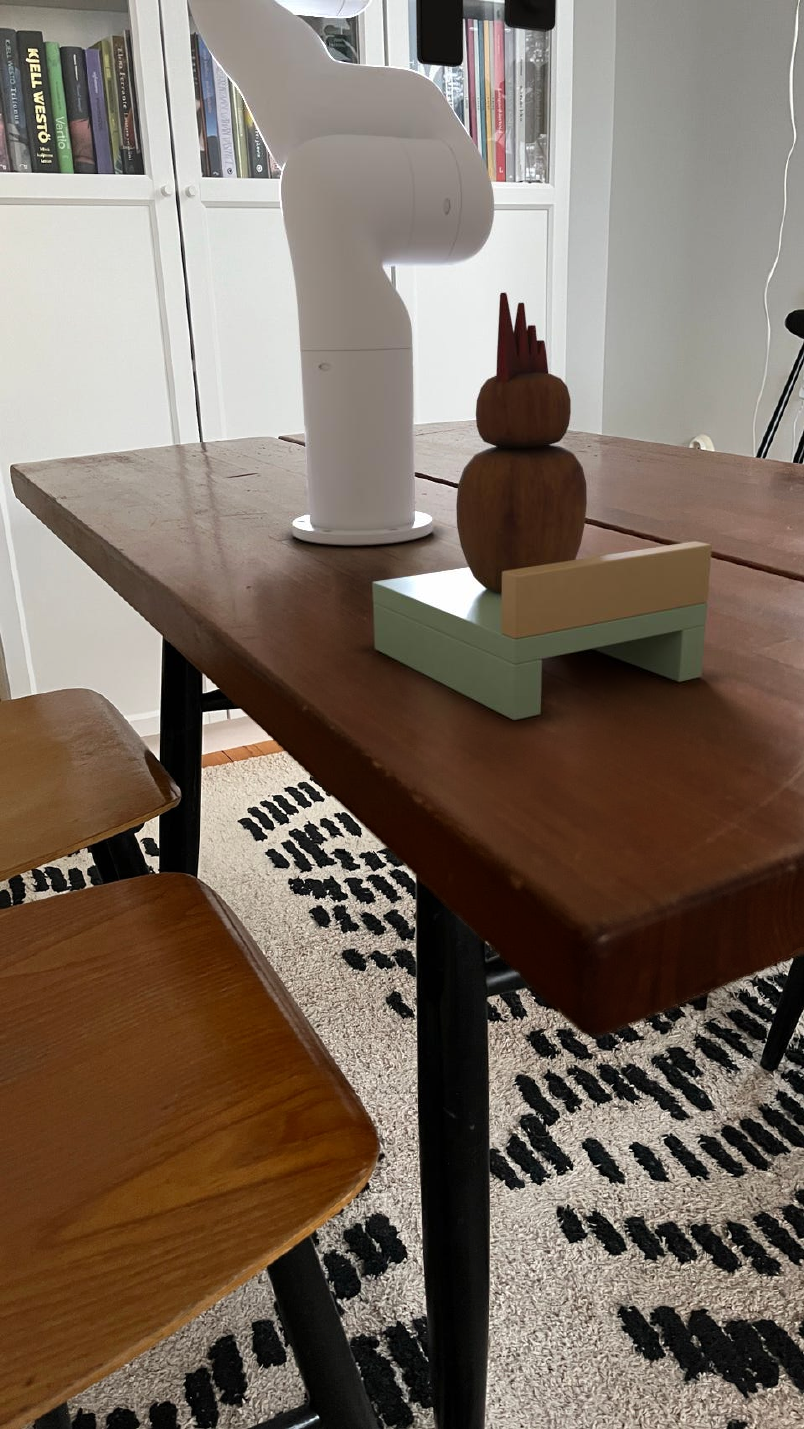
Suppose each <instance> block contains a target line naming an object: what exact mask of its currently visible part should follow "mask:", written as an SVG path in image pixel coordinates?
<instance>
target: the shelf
mask: <svg viewBox="0 0 804 1429" xmlns="http://www.w3.org/2000/svg"><path fill="white" fill-rule="evenodd" d="M712 548H713V546H712V544H709V543H707V542H700V541H697V540H695V541H688V542H682V543H675V544H669V545H663V546H656V547H649V548H643V549H635V550H631V551H630V550H629V551H624V552H617V553H612V554H605V555H599V556H591V557H585V558H578V559H576V560H572V561H565V562H559V563H552V564H546V565H540V566H533V567H527V568H520V569H514V570H507V571H503V572H502V593H501V592H496V591H492V590H489V589H487V588H485V587H483V586H482V585H481V584H480V583H479V582H478V581H477V580H476V579H475V578H474V577H473V575H472V572H471V570H470V568H469V566H468V567H463V568H456V569H449V570H442V571H436V572H429V573H422V574H417V575H410V576H403V577H396V578H389V579H383V580H377V581H372V583H371V584H372V602H373V604H372V605H373V606H372V607H373V634H374V635H373V636H374V638H373V639H374V649H375V650H376V651H379V652H380V653H382V654H384V655H385V656H388V657H390V658H392V659H393V660H396V661H397V662H399V663H401V664H403V665H406V666H408V667H409V668H411V669H413V670H415V671H417V672H419V673H421V674H423V675H425V676H427V677H429V678H430V679H433V680H434V681H437V682H438V683H440V684H442V685H444V686H446V687H448V688H450V689H452V690H453V691H456V692H458V693H459V694H461V695H463V696H465V697H468V698H469V699H471V700H473V701H475V702H477V703H479V704H481V705H483V706H485V707H487V708H489V709H491V710H493V711H495V712H497V713H498V714H500V715H503V716H504V717H507V718H509V719H510V720H511V721H519V720H522V719H526V718H530V717H534V716H535V717H536V716H540V715H541V712H542V710H541V709H542V674H543V660H544V659H548V658H553V657H557V656H562V655H569V654H572V653H577V652H583V651H587V650H594V651H596V652H599V653H602V654H604V655H607V656H610V657H612V658H615V659H616V660H620V661H622V662H625V663H628V664H631V665H633V666H636V667H638V668H641V669H643V670H647V671H648V672H651V673H655V674H657V675H660V676H662V677H665V678H668V679H670V680H673V681H675V682H678V683H681V682H685V681H689V680H694V679H697V678H701V677H702V676H703V664H704V663H703V662H704V651H705V638H706V624H707V613H708V597H709V588H710V587H709V585H710V574H711V563H712V562H711V561H712V551H713V550H712ZM542 659H543V660H542Z"/></svg>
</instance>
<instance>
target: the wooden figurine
mask: <svg viewBox="0 0 804 1429" xmlns="http://www.w3.org/2000/svg"><path fill="white" fill-rule="evenodd" d="M537 336H538V335H537V326H536V325H535V324H528V325H527V317H526V307H525V303H524V302H518V303H517V308H516V315H515V320H514V327H513V321H512V316H511V310H510V304H509V298H508V293H507V292H500V294H499V308H498V328H497V346H496V348H497V349H496V374H495V375H494V376H491V377H490V378H488V379H486V380H485V382H484V383H483V384H482V386H481V387H480V390H479V393H478V395H477V397H476V398H477V399H476V404H475V405H476V406H475V424H476V428H477V429H476V430H477V432H478V434H479V437H480V438H481V439H482V441H483V442H484V443H486V444H488V445H491V446H492V447H488V448H485V449H484V450H482V451H480V452H478V453H476V454H475V453H474V455H473V456H472V458H471V459H470V460H469V461H468V463H467V464H466V465H465V466H464V468H463V470H462V473H461V476H460V477H459V481H458V484H457V492H456V493H457V494H456V505H455V507H456V508H455V509H456V527H457V528H456V529H457V533H458V538H459V543H460V544H459V545H460V547H461V550H462V553H463V557H464V558H465V562H466V564H467V566H468V567H469V568H470V570H471V572H472V575H473V577H474V578H475V579H476V580H477V581H478V582H479V583H480V584H481V585H482V586H483V587H485V588H487V589H489V590H492V591H496V592H501V593H502V572H503V571H507V570H514V569H520V568H527V567H533V566H540V565H546V564H552V563H559V562H565V561H572V560H577V557H578V553H579V551H580V547H581V546H582V545H581V544H582V540H583V534H584V530H585V525H586V516H587V505H588V504H587V503H588V502H587V501H588V499H587V498H588V497H587V496H588V495H587V494H588V492H587V490H588V489H587V481H586V480H587V479H586V475H585V471H584V468H583V466H582V464H581V463H580V461H579V460H578V457H576V455H575V453H573V452H572V451H571V450H569V449H566V448H564V447H563V446H561V445H555V444H556V443H559V442H561V440H562V439H563V438H564V437H565V435H566V434H567V432H568V429H569V427H570V426H569V425H570V421H571V415H572V414H571V413H572V410H571V409H572V408H571V407H572V406H571V404H572V402H571V401H572V400H571V395H570V391H569V388H568V386H567V384H566V383H565V382H564V380H563V379H562V378H561V377H558V376H556V375H553V374H552V373H549V364H548V357H547V356H548V355H547V349H546V342H545V340H544V339H543V340H542V339H541V340H540V339H538V338H537Z"/></svg>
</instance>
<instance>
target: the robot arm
mask: <svg viewBox="0 0 804 1429" xmlns="http://www.w3.org/2000/svg"><path fill="white" fill-rule="evenodd" d="M371 2H372V0H187V3H188V7H189V10H190V13H191V16H192V19H193V22H194V24H195V26H196V30H197V31H198V34H199V35H200V38H201V40H202V41H203V43H204V45H205V47H206V49H207V50H208V52H209V53H210V55H211V56H212V59H214V61H215V62H216V64H217V65H218V66H219V68H221V70H222V71H223V73H224V74H225V75H226V76H227V77H228V79H229V80H230V81H231V82H232V83H233V85H234V87H236V89H237V90H238V92H239V93H240V94H241V96H242V98H243V100H244V103H245V105H246V108H247V109H248V112H249V114H250V116H251V118H252V120H253V122H254V124H255V126H256V128H257V130H258V133H259V135H260V137H261V138H262V141H263V143H264V145H265V147H266V150H267V151H268V153H269V155H270V156H271V158H272V160H273V162H274V163H275V164H276V165H277V168H279V170H280V171H281V174H280V180H279V200H280V202H279V203H280V208H281V214H282V215H281V216H282V221H283V226H284V231H285V236H286V239H287V244H288V249H289V255H290V259H291V260H290V261H291V265H292V272H293V277H294V285H295V294H296V296H295V297H296V305H297V319H298V338H299V349H300V350H299V351H300V370H301V372H300V373H301V388H302V390H301V391H302V406H303V407H302V409H303V427H304V445H305V447H304V448H305V463H306V464H305V465H306V466H305V467H306V482H307V485H306V486H305V487H304V491H303V492H304V496H305V497H306V498H307V502H308V504H307V505H308V514H306V515H303V516H301V517H297V518H296V519H295V520H293V521H292V524H291V530H292V536H294V537H295V538H297V539H299V540H300V541H303V542H309V543H314V544H320V545H331V546H373V545H374V546H375V545H387V544H388V545H389V544H395V543H396V544H397V543H403V542H409V541H413V540H417V539H421V538H423V537H426V536H428V535H430V534H432V532H433V531H434V519H433V518H432V516H430V515H429V514H427V513H423V512H420V511H416V467H415V466H416V464H415V463H416V462H415V460H416V458H415V457H416V455H415V454H416V453H415V408H414V407H415V404H414V403H415V402H414V401H415V400H414V398H415V397H414V394H415V393H414V349H413V348H414V346H413V328H412V326H413V325H412V320H411V317H410V314H409V310H408V309H407V306H406V304H405V302H404V300H403V298H402V296H401V295H400V293H399V292H398V290H397V289H396V286H394V284H393V283H392V281H391V279H390V278H389V275H388V274H387V273H386V271H385V268H391V267H425V266H426V267H432V266H433V267H441V266H443V267H444V266H452V265H453V266H454V265H458V264H461V263H464V262H467V261H469V260H470V259H472V258H474V257H475V256H476V255H477V254H479V252H480V251H481V250H482V249H483V247H484V246H485V245H486V244H487V241H488V240H489V238H490V234H491V232H492V228H493V224H494V219H495V218H494V216H495V197H494V196H495V195H494V189H493V183H492V179H491V177H490V172H489V170H488V167H487V165H486V162H485V160H484V159H483V158H484V157H483V156H482V154H481V152H480V150H479V149H478V147H477V145H476V143H475V142H474V140H473V138H472V137H471V135H470V134H469V132H468V130H467V129H466V127H465V126H464V124H463V123H462V121H461V120H460V118H459V116H458V114H457V113H456V112H455V110H454V109H453V107H452V106H451V103H450V101H448V99H447V97H446V96H445V94H444V92H442V90H441V89H440V87H439V86H438V85H437V84H436V83H435V82H434V81H433V80H432V79H431V78H430V77H428V76H426V75H424V74H422V73H420V72H418V71H415V70H413V69H409V68H404V67H396V66H387V65H375V64H374V65H373V64H361V63H360V64H359V63H353V62H344V61H340V60H336V59H334V58H333V56H331V54H330V53H329V51H328V49H327V46H326V45H325V43H324V41H323V40H322V38H321V36H319V34H318V33H317V31H315V29H313V27H312V26H311V25H310V24H308V22H307V21H305V20H304V19H303V18H301V17H299V16H298V15H301V16H310V17H311V16H313V17H324V18H335V19H337V18H338V19H344V18H345V19H347V18H352V17H355V16H358V15H360V14H361V13H362V12H364V11H365V10H366V8H367V7H368V6H369V5H370V3H371ZM503 2H504V4H503V6H504V7H503V20H504V24H505V25H506V27H508V28H511V29H517V30H524V31H525V30H526V31H533V32H539V33H547V32H550V31H551V30H553V29H554V28H555V27H556V16H557V15H556V12H557V0H504V1H503ZM415 25H416V26H415V27H416V28H415V30H416V59H417V61H418V63H419V64H421V65H428V66H439V67H447V68H457V67H460V66H462V65H463V63H464V0H415Z"/></svg>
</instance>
